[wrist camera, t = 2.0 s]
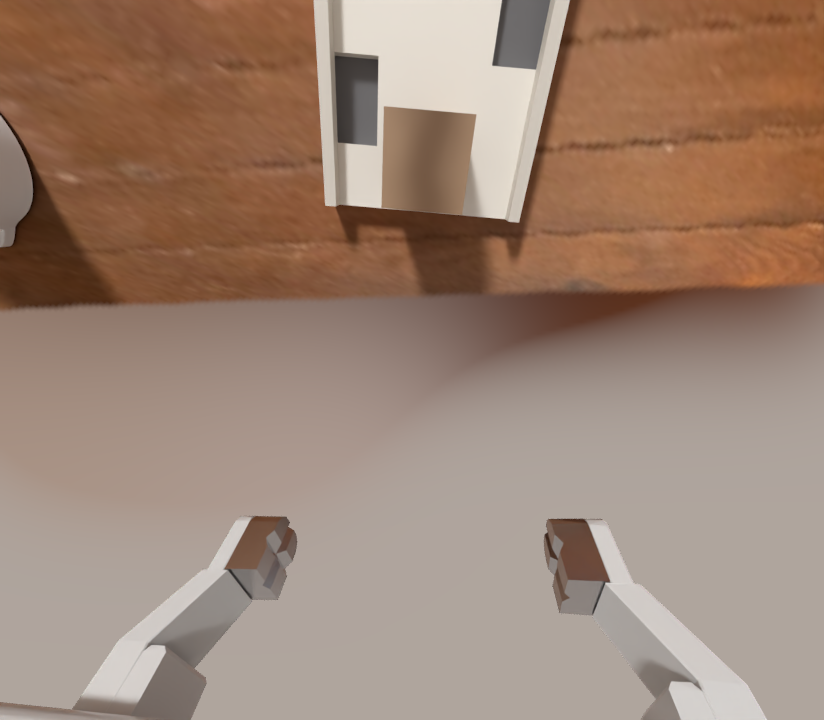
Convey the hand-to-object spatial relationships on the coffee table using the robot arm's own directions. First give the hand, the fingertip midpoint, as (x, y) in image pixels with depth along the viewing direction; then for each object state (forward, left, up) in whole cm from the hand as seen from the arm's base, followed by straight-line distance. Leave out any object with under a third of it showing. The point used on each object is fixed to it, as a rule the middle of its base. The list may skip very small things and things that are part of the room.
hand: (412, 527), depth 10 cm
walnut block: (-1, +10, -28) cm, 30 cm away
